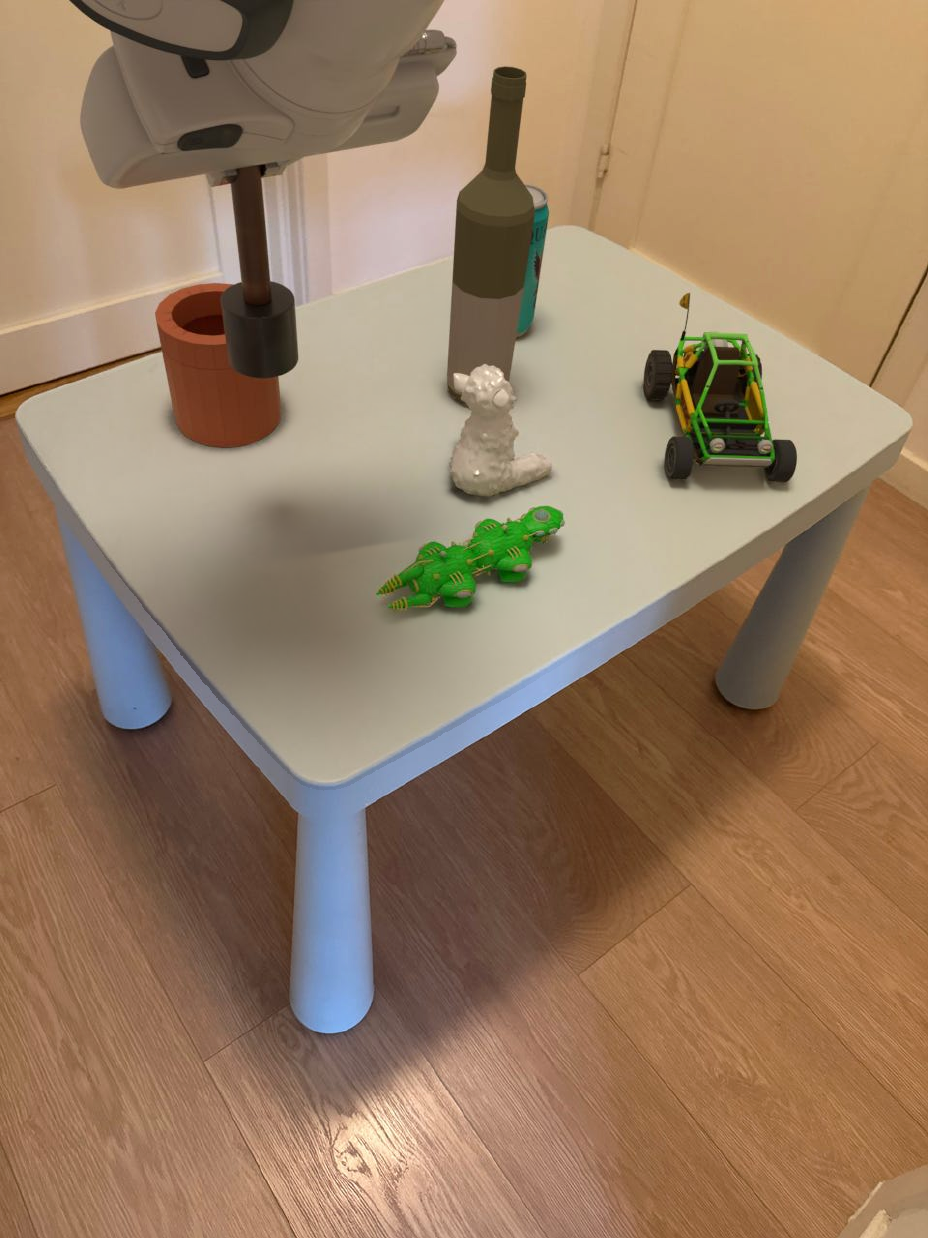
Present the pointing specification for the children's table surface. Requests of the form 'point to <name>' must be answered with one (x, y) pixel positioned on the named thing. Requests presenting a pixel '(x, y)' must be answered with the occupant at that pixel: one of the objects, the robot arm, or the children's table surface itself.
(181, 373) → the terracotta flower pot
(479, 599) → the children's table surface
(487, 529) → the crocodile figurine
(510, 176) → the bottle
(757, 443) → the motor vehicle
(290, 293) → the rod on round base
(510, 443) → the sitting furry creature
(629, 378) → the children's table surface
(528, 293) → the beverage can
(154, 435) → the children's table surface
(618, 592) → the children's table surface
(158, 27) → the robot arm
